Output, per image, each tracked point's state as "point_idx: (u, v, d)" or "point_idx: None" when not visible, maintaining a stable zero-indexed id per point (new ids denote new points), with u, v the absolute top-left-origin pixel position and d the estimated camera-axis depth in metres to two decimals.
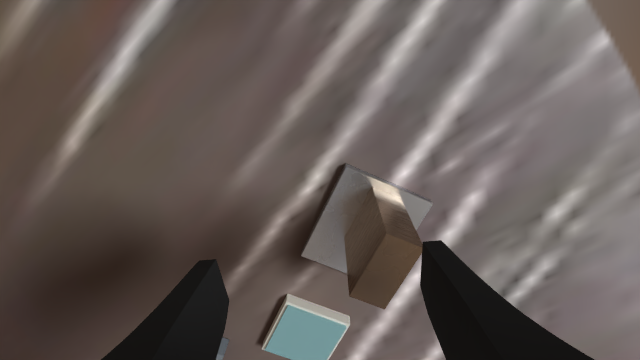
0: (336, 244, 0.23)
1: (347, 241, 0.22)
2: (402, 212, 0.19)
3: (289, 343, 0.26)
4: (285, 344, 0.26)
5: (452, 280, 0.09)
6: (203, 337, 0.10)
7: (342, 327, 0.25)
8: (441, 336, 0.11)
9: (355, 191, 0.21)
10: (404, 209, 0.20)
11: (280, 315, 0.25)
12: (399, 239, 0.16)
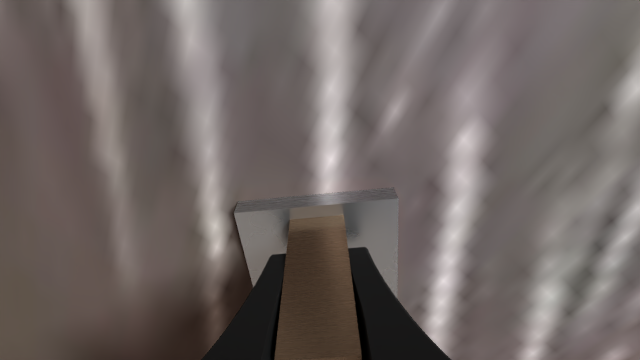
0: None
1: None
2: (336, 256, 0.11)
3: None
4: None
5: (359, 287, 0.09)
6: None
7: None
8: None
9: (272, 237, 0.13)
10: (343, 243, 0.11)
11: None
12: None
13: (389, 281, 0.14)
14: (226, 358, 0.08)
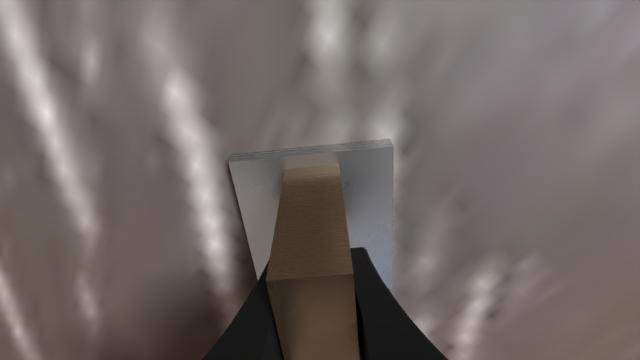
0: None
1: None
2: (330, 197, 0.11)
3: None
4: None
5: (357, 288, 0.09)
6: None
7: None
8: (358, 342, 0.11)
9: (267, 188, 0.13)
10: (337, 186, 0.11)
11: None
12: (294, 279, 0.08)
13: (385, 236, 0.14)
14: (227, 358, 0.08)
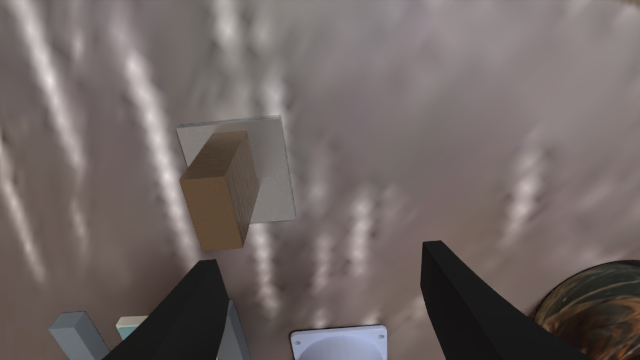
0: None
1: None
2: (231, 146, 0.18)
3: None
4: None
5: (452, 280, 0.09)
6: (203, 337, 0.10)
7: None
8: (442, 336, 0.11)
9: (202, 146, 0.20)
10: (239, 141, 0.19)
11: None
12: (194, 179, 0.15)
13: (284, 181, 0.22)
14: None
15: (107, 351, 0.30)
